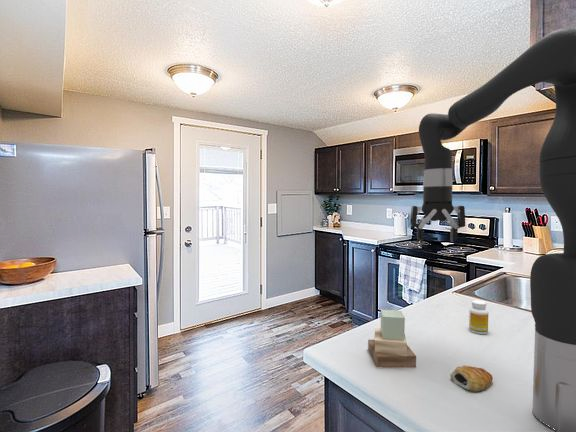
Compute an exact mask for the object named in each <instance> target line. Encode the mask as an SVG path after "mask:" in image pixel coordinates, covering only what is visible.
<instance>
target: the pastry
mask: <svg viewBox="0 0 576 432" xmlns="http://www.w3.org/2000/svg"><path fill="white" fill-rule="evenodd" d="M449 375H450V379H451V380H452V382H453V383H455V384H456V385H458V386H459V387H463V389H465V390H468V391H471V392H480V391H484V390H486V389H488V387H490V386H491V385H492V384H493V379H494V378H493V375H492V373H490V372H489V371H487V370H486V369H485V368H483V367H476V366H470V365H462V366H456V368H455V369H454V370H453V371H452V372H451V373H450V374H449Z"/></svg>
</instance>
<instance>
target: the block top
mask: <svg viewBox="0 0 576 432" xmlns="http://www.w3.org/2000/svg"><path fill="white" fill-rule="evenodd" d="M374 340H375V353H381V354H390V355H399V356H407V345H408V343H407V338H406V333H404V340H395V339H383V337H382V334H381V328H379V327H377V328H376V327H374Z"/></svg>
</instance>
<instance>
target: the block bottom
mask: <svg viewBox="0 0 576 432" xmlns="http://www.w3.org/2000/svg"><path fill="white" fill-rule="evenodd" d="M367 351H368V352H369V354H370V356H371V358H372V360H373V361H375V362H374V363H375V365H376V367H377V368H378V367H383V368H385V367H386V369H387V368H388V367H389V369H390V368H391V369H392V368H393V367H394V368H395V369H396V368H417V355H416V354H415V353H414V351H412V349H411V348H410V346H409V345H408V344H407V356H399V355H390V354H381V353H375V339H367ZM383 368H382V369H383Z"/></svg>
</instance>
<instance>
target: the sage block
mask: <svg viewBox="0 0 576 432" xmlns="http://www.w3.org/2000/svg"><path fill="white" fill-rule="evenodd" d="M405 322H406V319H405V315H404V313H403V312H402V310H398V309H397V310H395V309H394V310H393V309H380V329H381V334H382V337H383V339H395V340H404V333H405V327H406V325H405V324H406V323H405ZM405 334H406V333H405Z"/></svg>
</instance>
